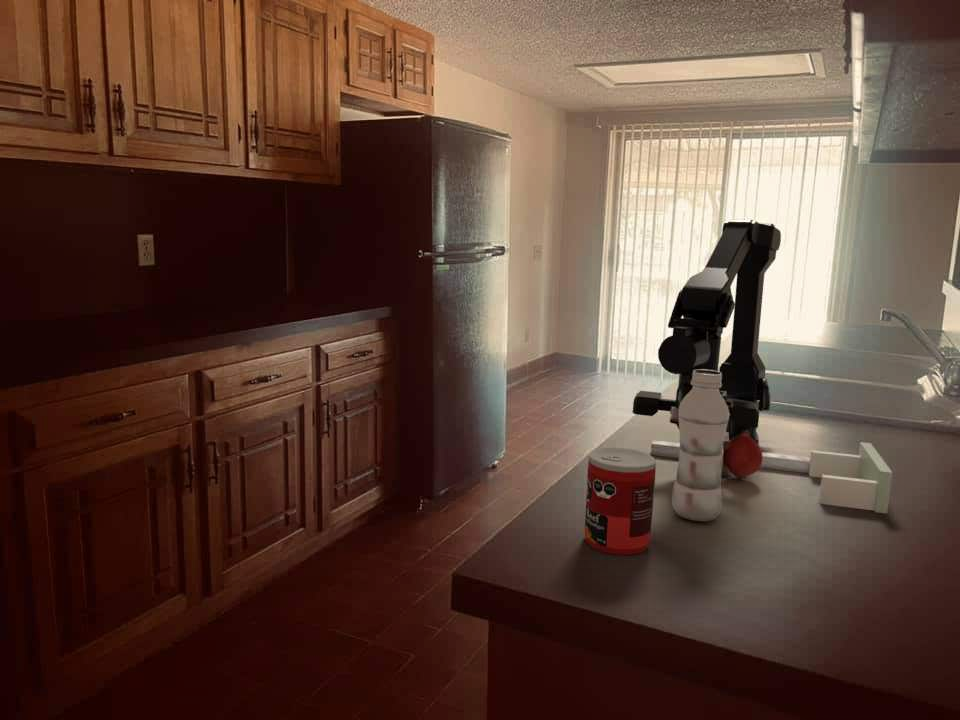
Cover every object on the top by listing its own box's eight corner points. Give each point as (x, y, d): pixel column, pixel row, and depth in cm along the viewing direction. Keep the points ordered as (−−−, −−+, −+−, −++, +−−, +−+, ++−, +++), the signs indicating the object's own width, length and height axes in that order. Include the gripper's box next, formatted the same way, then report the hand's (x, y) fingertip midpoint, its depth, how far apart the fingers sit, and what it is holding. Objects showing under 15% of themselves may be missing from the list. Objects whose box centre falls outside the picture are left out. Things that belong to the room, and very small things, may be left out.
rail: (651, 450, 127) (652, 439, 127) (846, 473, 118) (847, 461, 118) (650, 454, 125) (651, 443, 125) (848, 478, 116) (850, 466, 116)
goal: (807, 472, 118) (812, 437, 117) (866, 479, 115) (870, 443, 114) (820, 505, 104) (825, 465, 103) (887, 513, 101) (892, 472, 100)
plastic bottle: (695, 530, 94) (708, 378, 90) (659, 512, 100) (670, 369, 96) (731, 522, 97) (745, 375, 93) (694, 505, 103) (706, 366, 99)
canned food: (580, 528, 93) (585, 446, 91) (643, 531, 93) (649, 448, 91) (587, 555, 86) (592, 465, 84) (655, 557, 86) (662, 468, 84)
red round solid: (717, 480, 113) (721, 431, 111) (724, 470, 118) (729, 422, 116) (756, 488, 110) (761, 437, 109) (762, 477, 115) (767, 428, 114)
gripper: (632, 368, 108) (624, 468, 111) (766, 381, 103) (754, 485, 106) (640, 356, 119) (632, 447, 122) (761, 367, 113) (751, 463, 116)
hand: (689, 460), depth 116 cm, fingers closed
